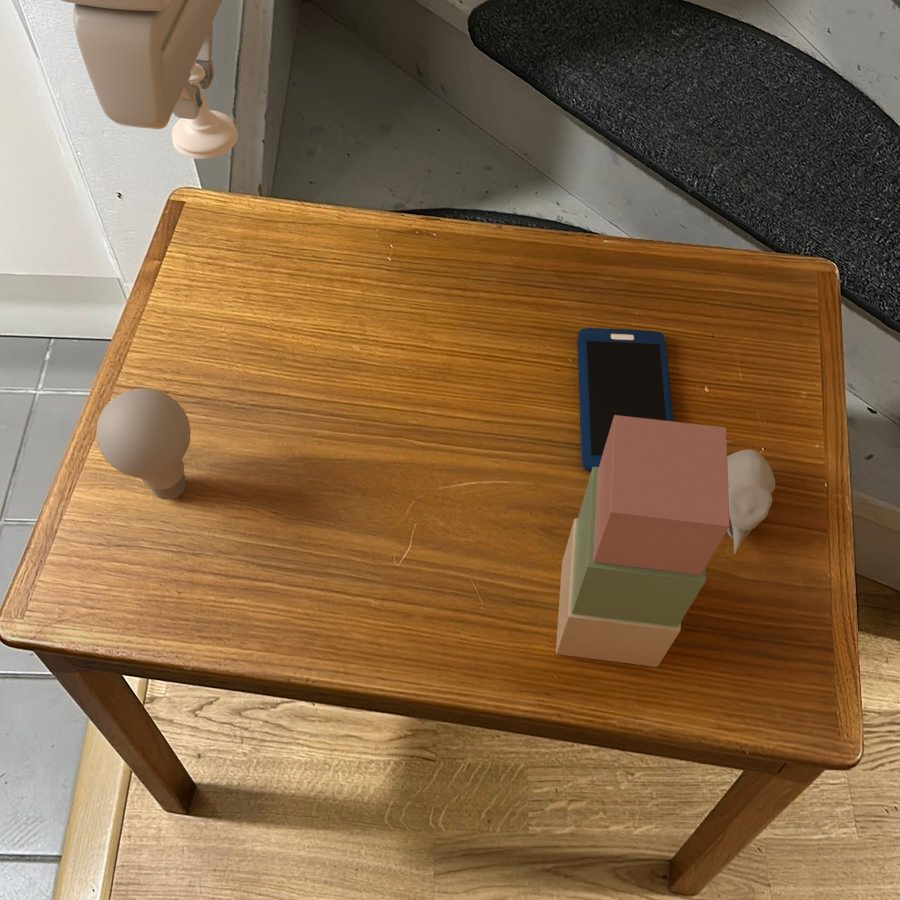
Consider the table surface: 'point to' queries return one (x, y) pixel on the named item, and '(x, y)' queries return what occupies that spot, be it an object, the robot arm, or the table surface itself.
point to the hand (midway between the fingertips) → (195, 97)
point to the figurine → (748, 492)
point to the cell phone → (619, 383)
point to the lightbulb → (146, 439)
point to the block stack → (642, 540)
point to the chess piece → (204, 128)
